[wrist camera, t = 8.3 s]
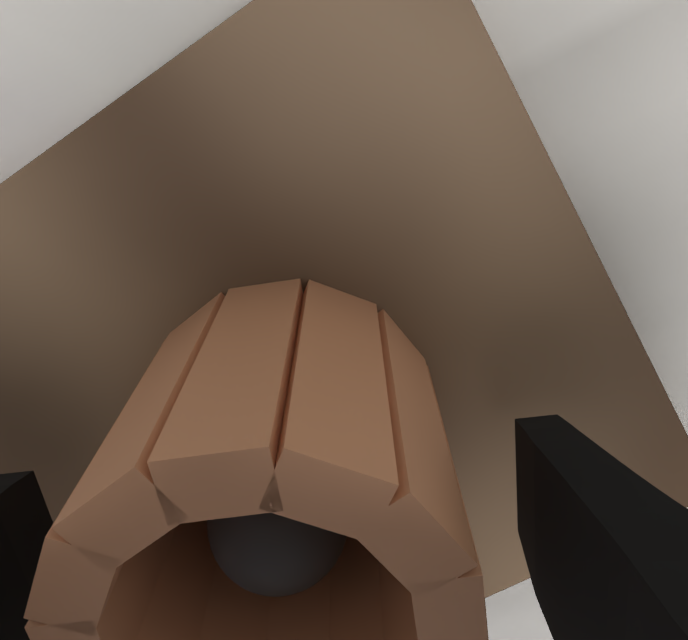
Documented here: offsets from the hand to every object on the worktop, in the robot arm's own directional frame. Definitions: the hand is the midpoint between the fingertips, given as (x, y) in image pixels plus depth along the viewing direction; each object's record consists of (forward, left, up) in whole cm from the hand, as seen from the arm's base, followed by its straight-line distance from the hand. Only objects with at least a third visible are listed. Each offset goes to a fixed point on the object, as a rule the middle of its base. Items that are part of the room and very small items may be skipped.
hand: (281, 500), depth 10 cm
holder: (0, 0, -3) cm, 3 cm away
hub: (0, 0, -2) cm, 2 cm away
